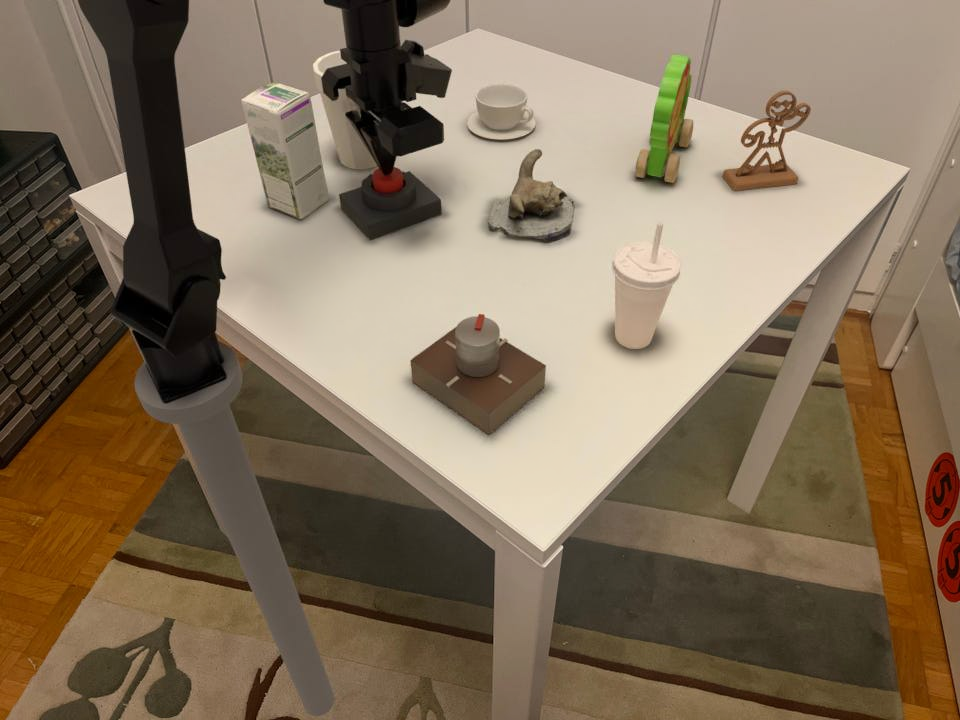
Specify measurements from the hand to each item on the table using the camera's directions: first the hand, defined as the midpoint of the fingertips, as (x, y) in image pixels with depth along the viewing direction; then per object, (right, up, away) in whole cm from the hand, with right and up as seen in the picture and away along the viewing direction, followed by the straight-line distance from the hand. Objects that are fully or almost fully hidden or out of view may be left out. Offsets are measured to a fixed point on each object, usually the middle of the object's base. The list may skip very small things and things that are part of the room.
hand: (386, 173), depth 89 cm
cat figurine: (+18, -5, +3) cm, 19 cm away
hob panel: (+11, -25, -17) cm, 32 cm away
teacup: (+14, +12, +20) cm, 27 cm away
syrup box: (-12, -3, +5) cm, 13 cm away
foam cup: (-5, +5, +14) cm, 15 cm away
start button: (0, -1, +1) cm, 2 cm away
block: (0, -4, +4) cm, 6 cm away
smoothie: (+27, -20, -13) cm, 36 cm away
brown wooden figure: (+48, +1, +9) cm, 49 cm away
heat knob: (+11, -23, -20) cm, 32 cm away
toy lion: (+36, +4, +12) cm, 38 cm away
